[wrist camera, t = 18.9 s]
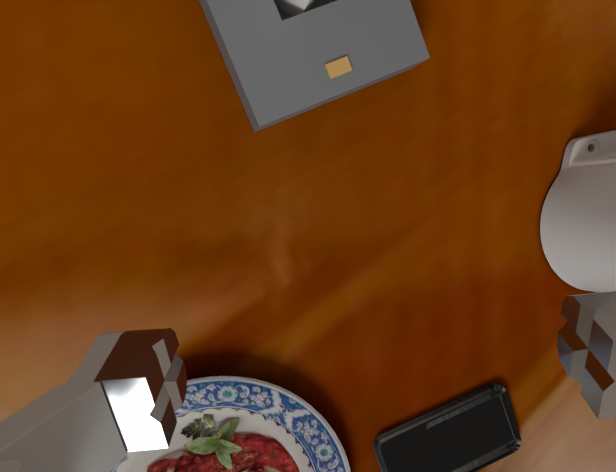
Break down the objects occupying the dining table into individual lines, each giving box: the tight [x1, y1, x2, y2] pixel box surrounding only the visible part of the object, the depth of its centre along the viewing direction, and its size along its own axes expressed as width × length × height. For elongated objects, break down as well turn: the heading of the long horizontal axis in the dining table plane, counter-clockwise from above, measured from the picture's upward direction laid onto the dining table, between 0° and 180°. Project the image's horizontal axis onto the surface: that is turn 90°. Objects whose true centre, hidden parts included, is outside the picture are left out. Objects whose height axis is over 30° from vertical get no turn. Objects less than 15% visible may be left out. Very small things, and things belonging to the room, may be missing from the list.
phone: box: [373, 383, 521, 472], centre depth 50 cm, size 8×1×15 cm
